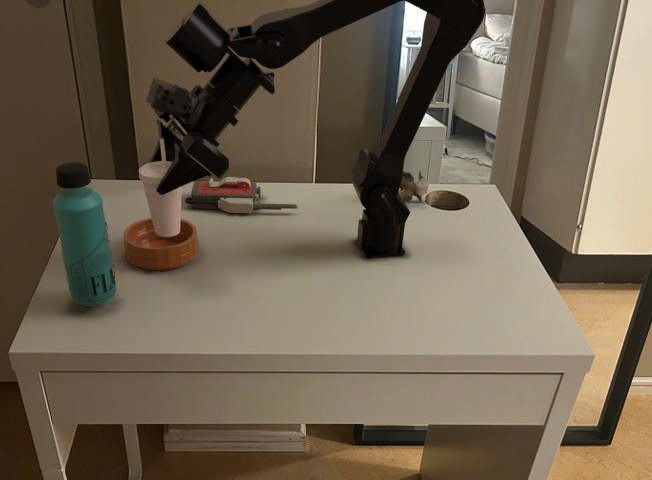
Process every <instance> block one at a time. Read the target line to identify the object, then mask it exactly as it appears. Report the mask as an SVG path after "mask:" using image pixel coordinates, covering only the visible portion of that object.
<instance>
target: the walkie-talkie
mask: <svg viewBox="0 0 652 480" xmlns="http://www.w3.org/2000/svg"><path fill="white" fill-rule="evenodd" d="M261 190H262V189H261V186H257V182H255V181H253V182H252V181H251V179H250V178H248V177H245V176H244V177H243V176H241V177H237V176H226V177H224V178H222V179H220V180H219V181H218V180H217V181H216V180H214V178H210V177H209V179H208V180H195V181H193V185H192V187H191V192H190V193H191V197H186V198H185V199H184V202H185V204H187V205H191V207H193V208H195V209H202V210H204V209H207V210H221V211H224V212H227V213H230V214H231V213H233V214H253V211H260V210H270V211H273V210H275V211H281V210H282V209H284V210H286V209H290V210H297V209H298V204H296V203H260V202H259V201H257V200H258V199H261V193H262V192H261Z"/></svg>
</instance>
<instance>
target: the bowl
mask: <svg viewBox="0 0 652 480" xmlns="http://www.w3.org/2000/svg"><path fill="white" fill-rule="evenodd" d="M197 229H198V228H197V226H195V225H194V224H193V223H192V222H191V221H188V220H186V219H183V218H181V221H180V233H179V234H177V235H175V236H171V237H161V236H158V235H157V234H156V233H155V229H154V225H153V221H152V217H148V218H143V219H140V220H138V221H135V222H133V223H132V224H130V225H128V226H127V227H126V228H125V230H123V244H124V252H125V257H126V259H127V260H128V261H129V263H131V264H133V265H134V266H136V267H140V268H142V269H145V270H151V271H169V270H174V269H177V268H181V267H183V266H185V265H186V264H188V263H190V262H192V261H193V260H194V259H195V258H196V257H197V256H198V253H199V241H198V231H197Z"/></svg>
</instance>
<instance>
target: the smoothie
mask: <svg viewBox="0 0 652 480" xmlns="http://www.w3.org/2000/svg"><path fill="white" fill-rule="evenodd" d="M160 145H161V155H162V161H158V162H152V163H149V162H148V163H146V164H143V165H142V166H140V167H139V169H138V178H139V180H140V181H141V182H142V186H143V190H144V194H145V197H146V201H147V206H148V209H149V213H150V218H152V221H153V225H154V229H155V233H156V234H157V235H158V236H161V237H171V236H175V235H177V234H179V233H180V221H181V219H182V218H181V217H182V197H183V196H182V195H183V194H182V193H183V192H182V191H183V186H181V187H179V188H177V189H175V190H173V191H171V192H168V193H166V194H164V195H160V194H159V193H158V192H157V191H156V189H157V187H158V185H159V184H160V182H161V180H162V178H163V177H164V175H165V174H166V172H167V170H168V169H169V167H170V166H171V164H172V162H170V161H166V155H165V145H164V138H160Z"/></svg>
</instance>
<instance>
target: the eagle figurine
mask: <svg viewBox="0 0 652 480" xmlns="http://www.w3.org/2000/svg"><path fill="white" fill-rule="evenodd" d="M417 176H418V181H416V182H415V176H413V175H412V174H411V172H409V171H408V172H407V171H406V172H405V171H404V170H403V177H402V182H401V186H400V189H399V193H400V195H401V197H402V199H403V200H404V202H405V203H408V202H410V201H412V200H413V197H416V198H417V200H418V202H420V203H422V201H423V196H424V195H425V194H427V193H428V190H429V187H430V182H429V181H428V179H426V178H424V176H423V175H422V170H419V172H418V175H417Z"/></svg>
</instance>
